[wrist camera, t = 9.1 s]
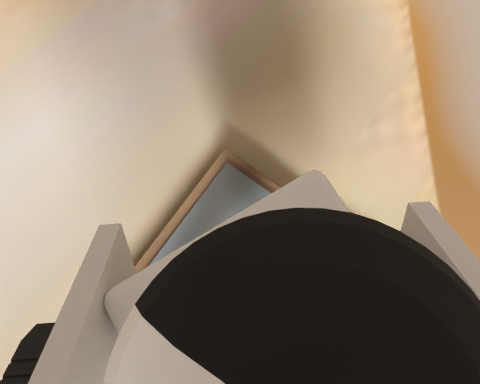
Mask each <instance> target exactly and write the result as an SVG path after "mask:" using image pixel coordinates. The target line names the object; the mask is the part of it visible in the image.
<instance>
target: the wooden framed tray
mask: <svg viewBox="0 0 480 384" xmlns="http://www.w3.org/2000/svg"><path fill="white" fill-rule="evenodd" d="M280 188H281V187H279V186H278V185H277V184H275V183H274V182H272V181H271V180H269V179H268V178H267V177H265V176H264V175H262V174H261V173H259V172H258V171H257V170H255V169H254V168H252V167H251V166H249V165H248V164H246V163H245V162H244V161H242V160H241V159H239V158H238V157H236V156H235V155H234V154H232V153H231V152H229V151H228V150H226V149H224V150H223V152H222V153H221V154H220V156H219V157H218V158H217V159H216V161H215V162H214V163H213V165H212V166H211V167H210V169H209V170H208V171H207V173H206V174H205V175H204V177H203V178H202V179H201V180H200V182H199V183H198V184H197V186H196V187H195V188H194V190H193V191H192V192H191V194H190V195H189V196H188V197H187V199H186V200H185V201H184V203H183V204H182V205H181V207H180V208H179V209H178V211H177V212H176V213H175V215H174V216H173V217H172V218H171V220H170V221H169V222H168V224H167V225H166V226H165V228H164V229H163V230H162V232H161V233H160V234H159V236H158V237H157V238H156V239H155V241H154V242H153V243H152V245H151V246H150V247H149V249H148V250H147V251H146V253H145V254H144V255H143V257H142V258H141V259H140V260H139V262H138V263H137V264H136V266H135V269H136V272H137V273H138V272H140V271H141V270H143V269H145V268H146V267H148V266H150V265H151V264H153V263H155V262H156V261H158V260H160V259H161V258H163V257H165V256H167V255H168V254H170V253H172V252H173V251H175V250H177V249H178V248H180V247H182V246H183V245H185V244H187V243H189V242H190V241H192V240H194V239H195V238H197V237H199V236H200V235H202V234H204V233H205V232H207V231H209V230H210V229H212V228H214V227H216V226H217V225H219V224H221V223H222V222H224V221H226V220H227V219H229V218H231V217H232V216H234V215H236V214H237V213H239V212H241V211H243V210H244V209H246V208H248V207H249V206H251V205H253V204H254V203H256V202H258V201H259V200H261V199H263V198H265V197H266V196H268V195H270V194H271V193H273V192H275V191H276V190H278V189H280Z"/></svg>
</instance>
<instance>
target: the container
mask: <svg viewBox="0 0 480 384" xmlns="http://www.w3.org/2000/svg"><path fill="white" fill-rule="evenodd" d="M104 305H105V308H106V310H107V312H108V314H109V316H110V318H111V320H112V322H113V324H114V326H115V328H116V330H117V332H118V334H119V335H118V337H117V340H116V343H115V345H114V348H113V350H112V353H111V355H110V358H109V361H108V365H107V369H106V373H105V377H104V381H103V384H480V300H479V299H478V298H477V296H476V295H475V294H474V292H473V291H472V289H471V288H470V287H469V286H468V285H467V284H466V283H465V282H464V281H463V280H462V279H461V278H460V277H459V276H458V274H457V273H456V272H455V271H454V270H453V269H452V268H451V267H450V266H449V265H448V264H446V263H445V262H444V261H443V260H441V259H440V258H439V257H438V256H437V255H435V254H434V253H433V252H432V251H430V250H429V249H428V248H427V247H425V246H424V245H422V244H420V243H419V242H417V241H415V240H414V239H412V238H411V237H409V236H407V235H406V234H404V233H403V232H401V231H398V230H396V229H394V228H392V227H390V226H387V225H385V224H383V223H381V222H379V221H376V220H373V219H370V218H367V217H363V216H360V215H357V214H353V213H350V212H349V210H348V209H347V207H346V206H345V204H344V203H343V201H342V200H341V198H340V197H339V195H338V194H337V192H336V191H335V189H334V188H333V186H332V185H331V183H330V182H329V180H328V179H327V177H326V176H325V175H324V174H323V173H322V172H321V171H316V170H313V171H309V172H307V173H305V174H303V175H302V176H300V177H298V178H297V179H295V180H293V181H292V182H290V183H288V184H286V185H285V186H283V187H281V188H280V189H278V190H276V191H275V192H273V193H271V194H270V195H268V196H266V197H265V198H263V199H261V200H259V201H258V202H256V203H254V204H253V205H251V206H249V207H248V208H246V209H244V210H243V211H241V212H239V213H237V214H236V215H234V216H232V217H231V218H229V219H227V220H226V221H224V222H222V223H221V224H219V225H217V226H216V227H214V228H212V229H210V230H209V231H207V232H205V233H204V234H202V235H200V236H199V237H197V238H195V239H194V240H192V241H190V242H189V243H187V244H185V245H183V246H182V247H180V248H178V249H177V250H175V251H173V252H172V253H170V254H168V255H167V256H165V257H163V258H161V259H160V260H158V261H156V262H155V263H153V264H151V265H150V266H148V267H146V268H145V269H143V270H141V271H140V272H138V273H136V274H134V275H133V276H131V277H129V278H128V279H126V280H124V281H123V282H121V283H119V284H118V285H116V286H114V287H113V288H111V289H110V290H109V291H108V292H107V293H106V295H105V298H104Z"/></svg>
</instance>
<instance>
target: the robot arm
mask: <svg viewBox="0 0 480 384" xmlns="http://www.w3.org/2000/svg"><path fill="white" fill-rule="evenodd" d="M401 232H403V233H404V234H406V235H407V236H409V237H411V238H412V239H414V240H415V241H417V242H419V243H420V244H422V245H424V246H425V247H427V248H428V249H429V250H430V251H432V252H433V253H434V254H435V255H437V256H438V257H439V258H440V259H441V260H443V261H444V262H445V263H446V264H448V265H449V266H450V267H451V268H452V269H453V270H454V271H455V272H456V273H457V274H458V276H459V277H460V278H461V279H462V280H463V281H464V282H465V283H466V284H467V285H468V286H469V287H470V288H471V289H472V291H473V292H474V294H475V295H476V296H477V298H478V299H479V300H480V261H479V259H478V258H477V257H476V256H475V255H474V253H473V252H472V251H471V250H470V249H469V248H468V247H467V245H466V244H465V243H464V242H463V240H462V239H461V238H460V237H459V236H458V235H457V234H456V232H455V231H454V230H453V229H452V227H451V226H450V225H449V224H448V223H447V221H446V220H445V219H444V218H443V217H442V216H441V214H440V213H439V212H438V211H437V210H436V208H435V207H434V206H433V205H432V204H431V203H430V202H416V203H408V206H407V210H406V213H405V217H404V221H403V224H402V228H401ZM136 273H137V272H136V269H135V266H134V263H133V260H132V256H131V253H130V250H129V247H128V244H127V241H126V238H125V235H124V232H123V229H122V225H121V224H109V225H99V227H98V229H97V232H96V234H95V236H94V238H93V240H92V243H91V245H90V247H89V249H88V252H87V254H86V256H85V258H84V260H83V263H82V265H81V267H80V269H79V271H78V274H77V276H76V278H75V280H74V283H73V285H72V287H71V289H70V291H69V294H68V296H67V298H66V300H65V302H64V305H63V307H62V309H61V311H60V314H59V316H58V318H57V320H56V322H55V323H44V324H36V325H35V326H34V327H33V329H32V330H31V331H30V332H29V333H28V334H27V335H26V336H25V337H24V338H23V339H22V340H21V342H20V344H19V346H18V348H17V350H16V352H15V353H14V355H13V357H12V359H11V364H9V365H8V367H7V369H6V371H5V373H4V375H3V379H2V380H0V384H103V381H104V377H105V373H106V369H107V365H108V361H109V358H110V355H111V353H112V350H113V348H114V345H115V343H116V340H117V337H118V335H119V334H118V332H117V330H116V328H115V326H114V324H113V322H112V320H111V318H110V316H109V314H108V312H107V310H106V308H105V305H104V298H105V295H106V293H107V292H108V291H109V290H110V289H111V288H113V287H114V286H116V285H118V284H119V283H121V282H123V281H124V280H126V279H128V278H129V277H131V276H133V275H134V274H136Z"/></svg>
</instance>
